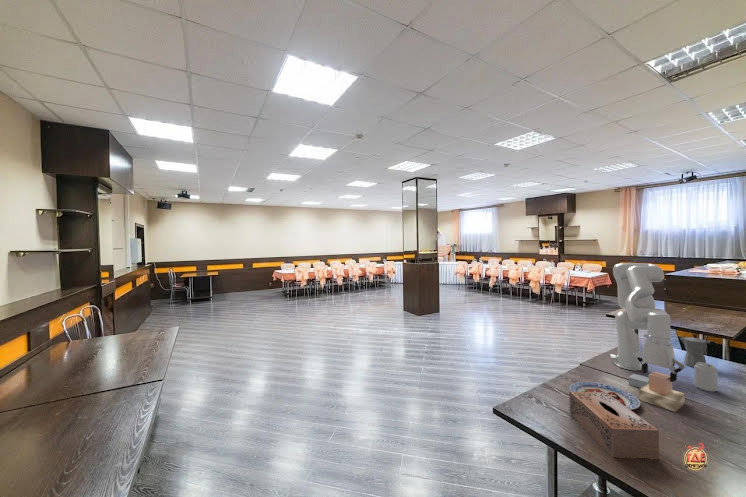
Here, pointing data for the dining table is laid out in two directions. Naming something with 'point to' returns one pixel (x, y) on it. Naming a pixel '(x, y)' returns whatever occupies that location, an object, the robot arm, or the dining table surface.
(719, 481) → the dining table surface
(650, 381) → the terracotta cube
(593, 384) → the ceramic plate
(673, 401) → the beech block
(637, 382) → the slate block
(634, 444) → the tissue box cover
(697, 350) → the coffeepot
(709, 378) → the can
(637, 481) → the dining table surface
